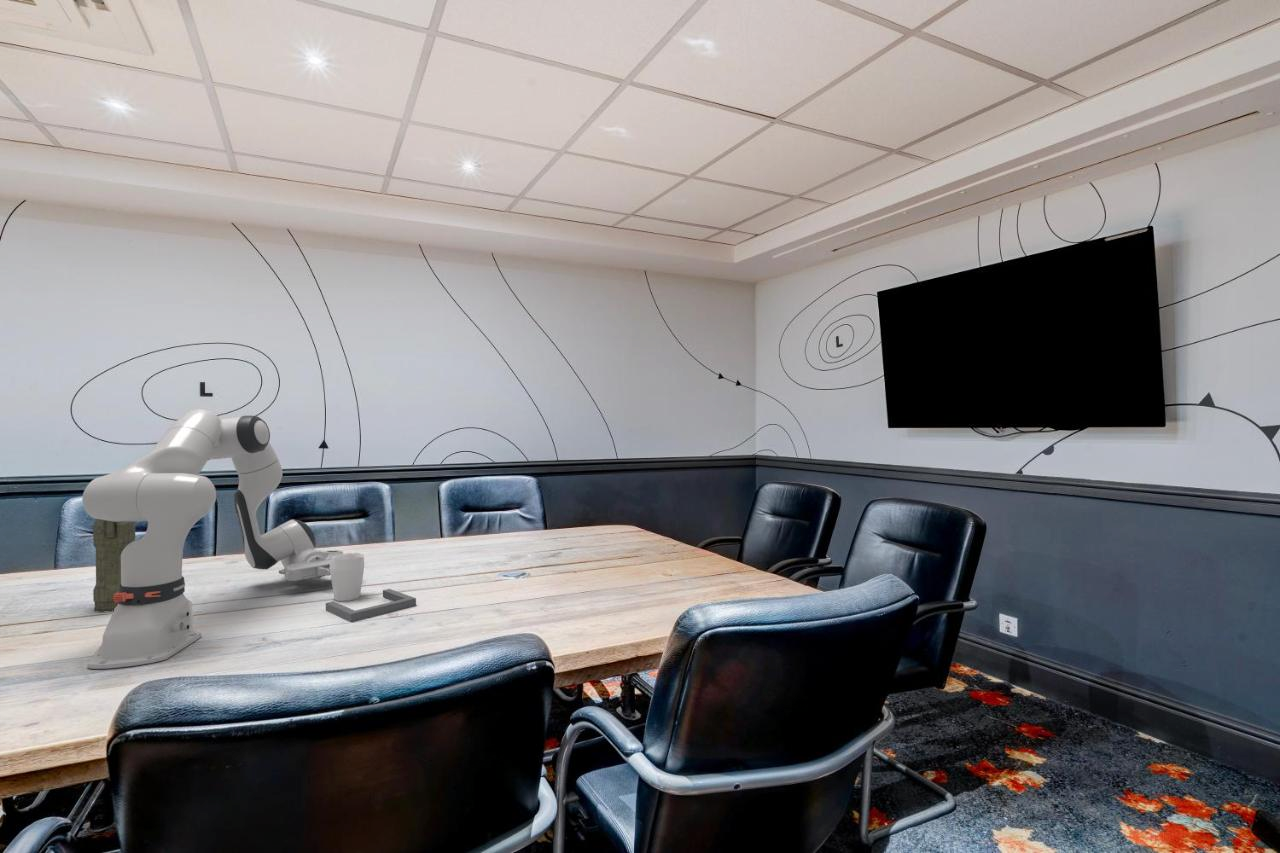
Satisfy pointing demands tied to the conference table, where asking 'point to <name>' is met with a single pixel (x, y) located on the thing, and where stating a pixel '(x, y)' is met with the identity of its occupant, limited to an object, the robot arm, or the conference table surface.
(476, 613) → the conference table surface
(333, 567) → the cup
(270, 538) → the robot arm
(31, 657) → the conference table surface
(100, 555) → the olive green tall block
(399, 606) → the bay
